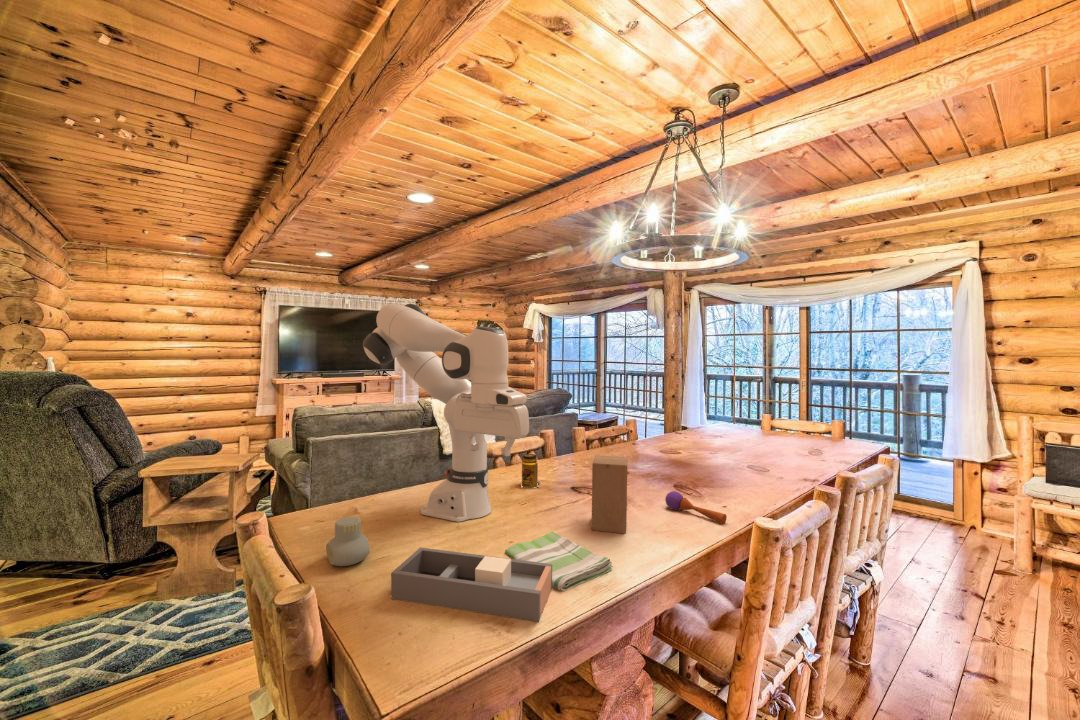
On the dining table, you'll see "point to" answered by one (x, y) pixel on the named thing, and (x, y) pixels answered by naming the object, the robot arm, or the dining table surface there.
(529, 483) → the condiment
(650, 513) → the dining table surface
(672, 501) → the purple and brown maraca
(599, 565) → the dish towel
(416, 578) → the box
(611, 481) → the wooden block
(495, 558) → the cream block
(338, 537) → the air freshener
